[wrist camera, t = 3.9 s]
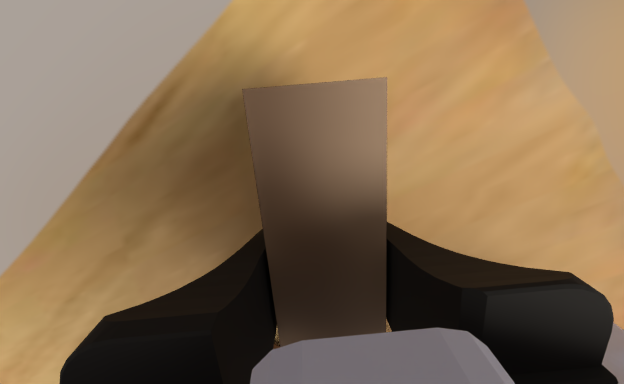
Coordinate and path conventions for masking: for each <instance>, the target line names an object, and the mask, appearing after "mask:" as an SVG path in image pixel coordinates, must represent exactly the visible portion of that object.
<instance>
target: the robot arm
mask: <svg viewBox="0 0 624 384" xmlns="http://www.w3.org/2000/svg"><path fill="white" fill-rule="evenodd" d="M386 319H387V321H388V323H389V325H390V328H391V330H392V332H385V333H375V334H364V335H354V336H343V337H333V338H323V339H312V340H302V341H299V342H296V343H292V344H289V345H286V346H283V347H280V348H277V349H273V347H274V340H275V334H276V328H277V320H276V313H275V307H274V300H273V293H272V286H271V280H270V273H269V266H268V259H267V253H266V246H265V239H264V232H263V229H262V230H261V231H259V232H258V233H257V234H256V235H255V236H254V237H253V238H252V239H251V240H250V241H249V242H247V243H246V244H245V245H244V246H243V247H242V248H241V249H240V250H239V251H237V252H236V253H235V254H234V255H232V256H231V257H230V258H229V259H227V260H226V261H225V262H223V263H222V264H221V265H219V266H218V267H216V268H215V269H213V270H212V271H210V272H209V273H207V274H205V275H204V276H202V277H200V278H198V279H196V280H195V281H193V282H191V283H189V284H187V285H185V286H183V287H181V288H179V289H177V290H175V291H173V292H171V293H168V294H166V295H164V296H161V297H159V298H156V299H154V300H151V301H149V302H146V303H143V304H141V305H138V306H135V307H132V308H129V309H126V310H123V311H120V312H116V313H113V314H110V315H107V316H105V317H104V318H103V319H102V320H101V321H100V322H99V323H98V324H97V326H96V327H95V328H94V329H93V330H92V331H91V332H90V334H89V335H88V336H87V337H86V338H85V339H84V340H83V342H82V343H81V344H80V345H79V346H78V347H77V348H76V349H75V351H74V352H73V353H72V354H71V355H70V356H69V357H68V359H67V360H66V362H65V364H64V366H63V368H62V370H61V372H60V384H624V330H623V329H621V328H620V327H619V326H617V325H616V324H615V323H613V321H614V318H613V312H612V307H611V305H610V303H609V302H608V300H607V299H606V297H605V296H604V295H603V294H601V293H600V292H598V291H597V290H595V289H594V288H592V287H591V286H590V285H588V284H587V283H585V282H584V281H582V280H581V279H579V278H578V277H576V276H575V275H573V274H572V273H570V272H561V271H552V270H543V269H533V268H525V267H518V266H512V265H506V264H501V263H496V262H491V261H486V260H482V259H478V258H474V257H470V256H466V255H463V254H459V253H456V252H453V251H450V250H447V249H444V248H441V247H439V246H436V245H434V244H431V243H429V242H427V241H424V240H422V239H420V238H418V237H415V236H413V235H411V234H409V233H407V232H405V231H403V230H402V229H400V228H398V227H396V226H394V225H392V224H390V223H388V222H387V232H386Z"/></svg>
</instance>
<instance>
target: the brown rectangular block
mask: <svg viewBox="0 0 624 384" xmlns="http://www.w3.org/2000/svg"><path fill="white" fill-rule="evenodd" d="M242 90H243V97H244V104H245V111H246V117H247V124H248V131H249V138H250V145H251V151H252V158H253V165H254V172H255V178H256V185H257V192H258V199H259V205H260V212H261V219H262V226H263V232H264V239H265V246H266V253H267V259H268V266H269V273H270V280H271V286H272V293H273V300H274V307H275V313H276V320H277V327H278V334H279V340H280V347H283V346H286V345H289V344H292V343H296V342H299V341H302V340H312V339H323V338H333V337H343V336H354V335H364V334H375V333H385V332H386V232H387V77H383V78H371V79H359V80H347V81H335V82H323V83H311V84H299V85H287V86H275V87H263V88H251V89H242Z"/></svg>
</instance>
